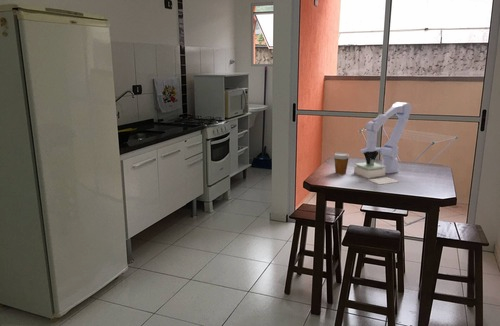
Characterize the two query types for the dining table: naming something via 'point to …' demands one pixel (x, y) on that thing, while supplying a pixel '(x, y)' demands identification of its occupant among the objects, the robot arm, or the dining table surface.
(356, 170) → the tub
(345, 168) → the disposable coffee cup
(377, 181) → the mat
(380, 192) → the dining table surface
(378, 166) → the lid
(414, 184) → the dining table surface
